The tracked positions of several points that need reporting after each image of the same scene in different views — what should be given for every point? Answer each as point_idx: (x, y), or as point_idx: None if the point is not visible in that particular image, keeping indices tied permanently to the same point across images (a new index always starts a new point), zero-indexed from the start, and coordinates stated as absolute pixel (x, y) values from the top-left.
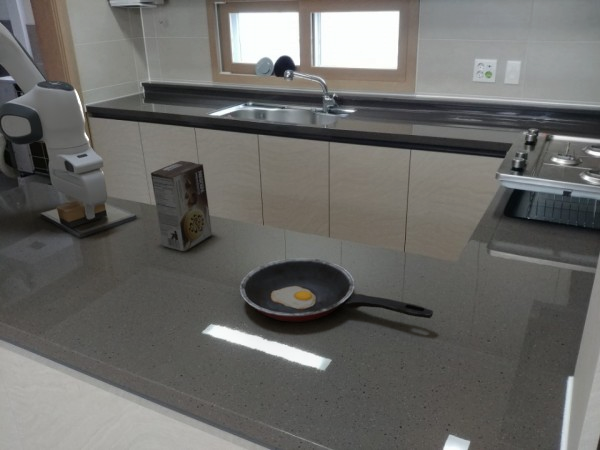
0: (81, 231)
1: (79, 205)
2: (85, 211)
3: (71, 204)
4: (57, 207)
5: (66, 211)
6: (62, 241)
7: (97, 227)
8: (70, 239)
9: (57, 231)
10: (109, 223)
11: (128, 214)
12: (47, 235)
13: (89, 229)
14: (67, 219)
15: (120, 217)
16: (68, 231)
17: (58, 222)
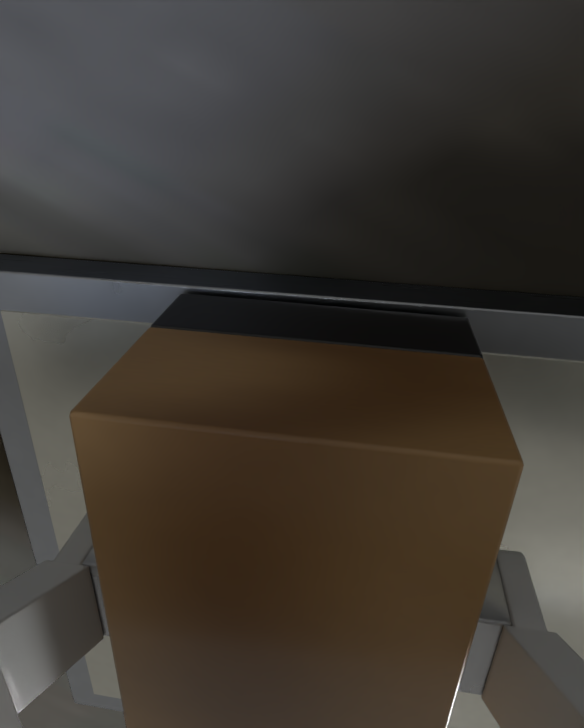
0: (5, 317)
1: (192, 643)
2: (63, 570)
3: (356, 627)
4: (474, 457)
5: (75, 421)
6: (29, 75)
7: (15, 454)
8: (28, 171)
9: (389, 200)
10: (38, 547)
11: (114, 692)
12: (380, 36)
13: (13, 391)
14: (153, 342)
15: (100, 644)
16: (254, 273)
17: (529, 317)
